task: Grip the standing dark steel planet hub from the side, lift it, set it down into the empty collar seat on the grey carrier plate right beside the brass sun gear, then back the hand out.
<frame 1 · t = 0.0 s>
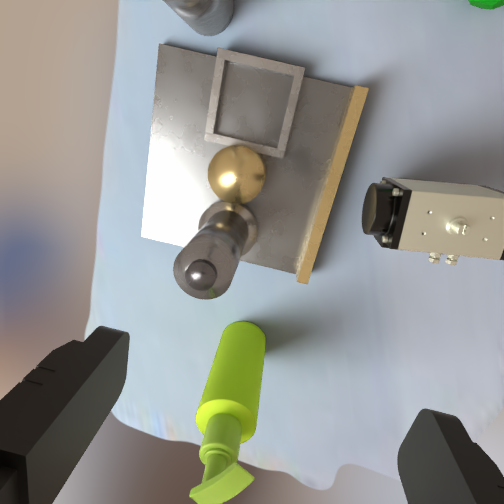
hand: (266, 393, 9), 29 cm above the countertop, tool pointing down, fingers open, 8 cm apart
planet hub: (208, 5, 31), on the countertop
soap dispenser: (246, 337, 44), on the countertop
pneumatic valve: (407, 200, 35), on the countertop
carrier plate: (241, 170, 36), on the countertop
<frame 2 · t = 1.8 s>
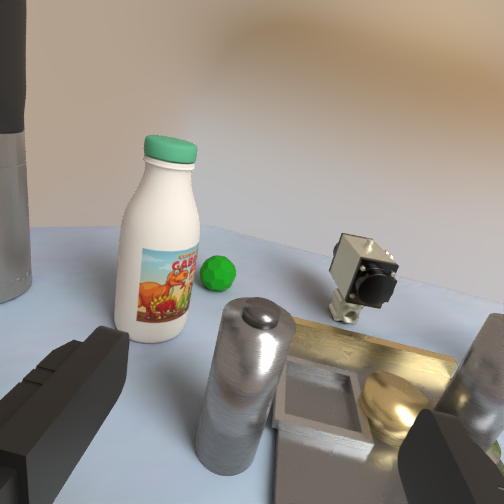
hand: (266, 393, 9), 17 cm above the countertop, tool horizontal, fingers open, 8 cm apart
planet hub: (225, 444, 26), on the countertop
milk bottle: (150, 324, 37), on the countertop
pneumatic valve: (344, 317, 48), on the countertop
polyhedron: (214, 289, 47), on the countertop
carrier plate: (382, 424, 31), on the countertop
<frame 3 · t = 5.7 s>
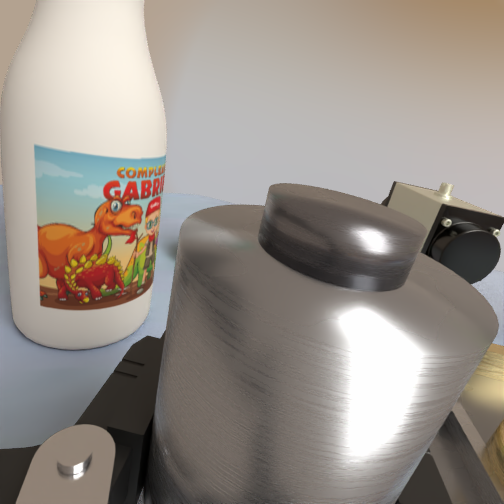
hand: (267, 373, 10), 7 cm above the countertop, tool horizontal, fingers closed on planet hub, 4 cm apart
milk bottle: (86, 316, 21), on the countertop
pneumatic valve: (397, 309, 32), on the countertop
when the fingers open (10 cm above the countertop, at t = 10.2 s): planet hub drops 2 cm, resting on carrier plate.
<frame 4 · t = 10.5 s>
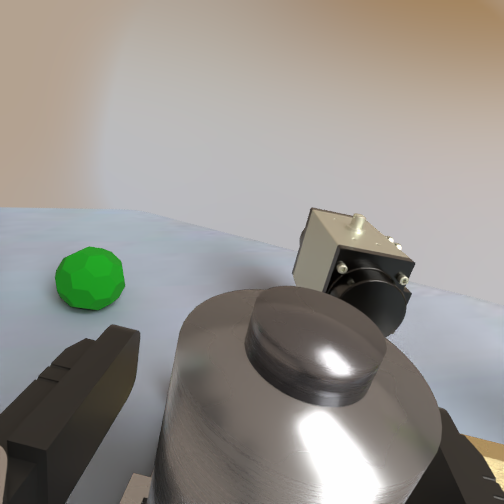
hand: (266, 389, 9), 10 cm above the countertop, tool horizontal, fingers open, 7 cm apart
pneumatic valve: (316, 354, 28), on the countertop
polyhedron: (90, 306, 27), on the countertop
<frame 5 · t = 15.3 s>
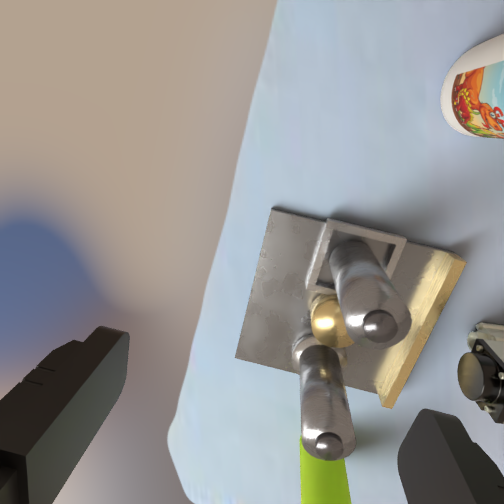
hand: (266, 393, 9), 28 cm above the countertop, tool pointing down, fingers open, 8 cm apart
planet hub: (351, 261, 36), point 1 cm above the countertop, touching carrier plate
milk bottle: (482, 91, 30), on the countertop
soap dispenser: (323, 439, 47), on the countertop
pneumatic valve: (486, 337, 39), on the countertop
carrier plate: (333, 308, 39), on the countertop
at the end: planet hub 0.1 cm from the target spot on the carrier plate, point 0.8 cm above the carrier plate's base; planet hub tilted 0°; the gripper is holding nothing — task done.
